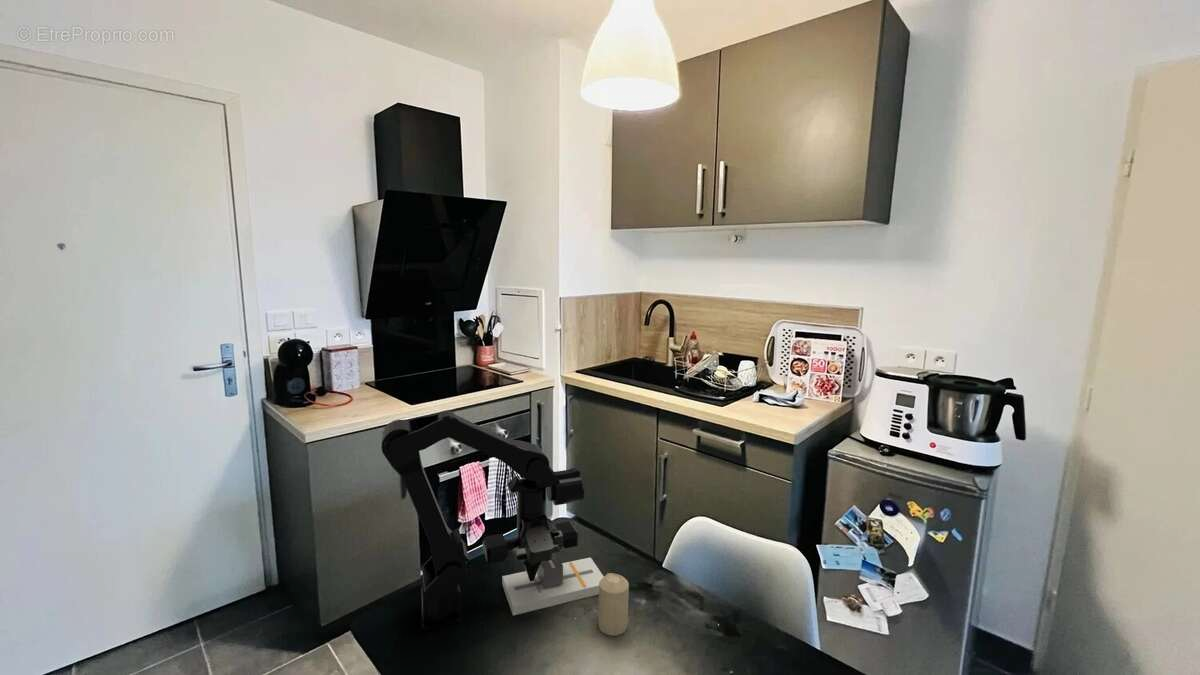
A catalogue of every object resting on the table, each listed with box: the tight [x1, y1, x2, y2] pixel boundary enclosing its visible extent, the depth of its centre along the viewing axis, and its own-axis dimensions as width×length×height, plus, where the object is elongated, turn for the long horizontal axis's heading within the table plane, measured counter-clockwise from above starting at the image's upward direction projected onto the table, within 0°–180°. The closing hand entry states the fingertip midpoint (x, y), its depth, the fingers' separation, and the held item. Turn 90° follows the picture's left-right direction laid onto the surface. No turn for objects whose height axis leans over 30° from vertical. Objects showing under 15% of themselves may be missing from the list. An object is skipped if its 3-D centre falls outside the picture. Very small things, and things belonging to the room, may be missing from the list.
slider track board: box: [501, 557, 605, 616], centre depth 103 cm, size 20×10×2 cm, turn 113°
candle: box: [597, 572, 630, 637], centre depth 92 cm, size 6×6×10 cm
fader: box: [537, 552, 563, 588], centre depth 102 cm, size 4×5×4 cm
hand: (531, 580), depth 101 cm, fingers closed
